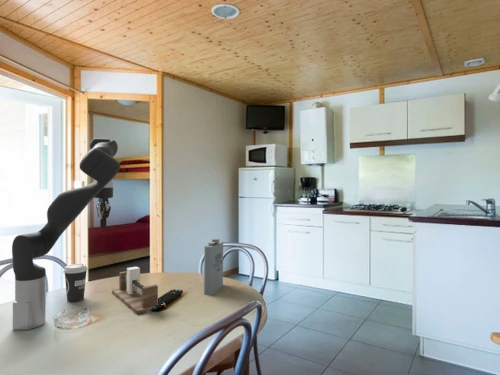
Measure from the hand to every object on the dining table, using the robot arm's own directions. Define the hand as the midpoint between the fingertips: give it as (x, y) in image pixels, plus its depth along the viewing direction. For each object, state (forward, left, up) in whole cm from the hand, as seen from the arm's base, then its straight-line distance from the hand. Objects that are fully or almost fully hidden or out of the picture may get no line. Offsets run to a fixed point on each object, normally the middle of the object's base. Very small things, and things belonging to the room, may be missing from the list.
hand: (103, 227), depth 136 cm
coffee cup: (+6, +16, -33) cm, 37 cm away
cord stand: (+9, -11, -33) cm, 36 cm away
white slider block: (+13, -7, -31) cm, 34 cm away
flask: (+28, -42, -33) cm, 60 cm away
